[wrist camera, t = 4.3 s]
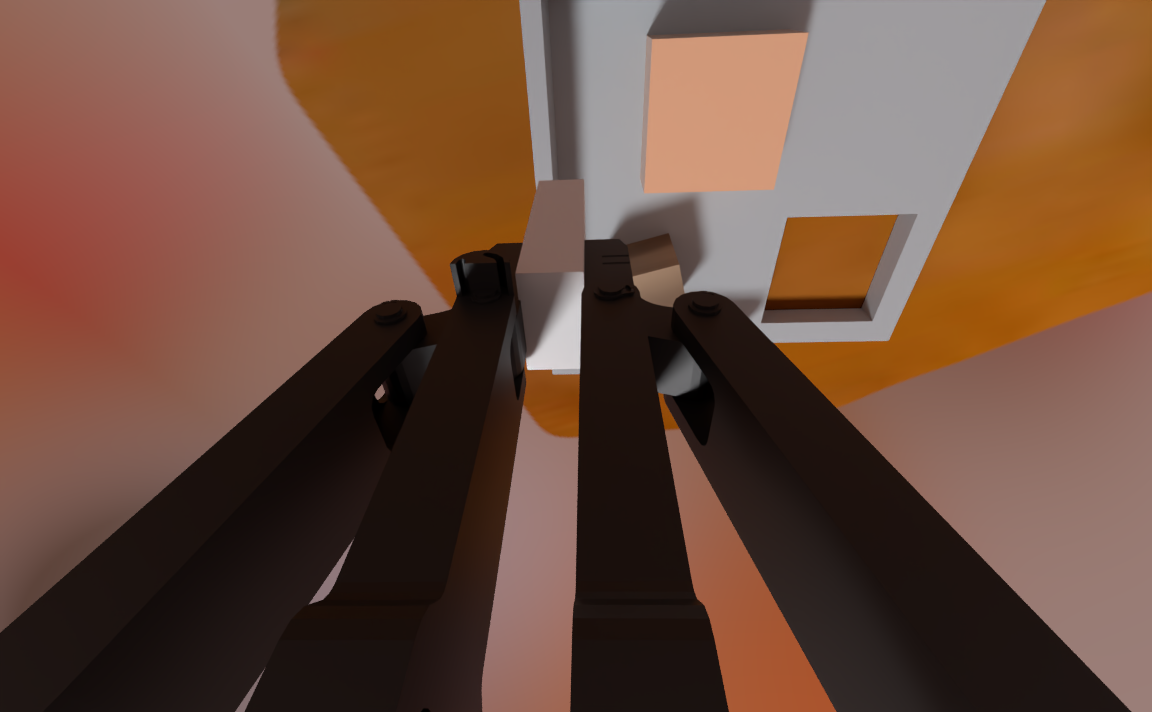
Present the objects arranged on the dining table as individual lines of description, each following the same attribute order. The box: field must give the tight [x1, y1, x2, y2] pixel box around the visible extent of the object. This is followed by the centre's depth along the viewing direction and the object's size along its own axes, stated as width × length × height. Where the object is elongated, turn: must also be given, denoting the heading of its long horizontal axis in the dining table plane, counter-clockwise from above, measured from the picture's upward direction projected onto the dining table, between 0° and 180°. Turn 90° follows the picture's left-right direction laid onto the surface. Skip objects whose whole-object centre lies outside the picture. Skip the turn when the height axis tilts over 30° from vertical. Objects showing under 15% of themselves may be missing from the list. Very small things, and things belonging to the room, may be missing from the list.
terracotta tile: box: [640, 29, 809, 193], centre depth 28 cm, size 8×8×3 cm
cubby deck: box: [519, 0, 1046, 374], centre depth 31 cm, size 26×28×7 cm
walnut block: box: [627, 233, 685, 307], centre depth 34 cm, size 5×5×5 cm
